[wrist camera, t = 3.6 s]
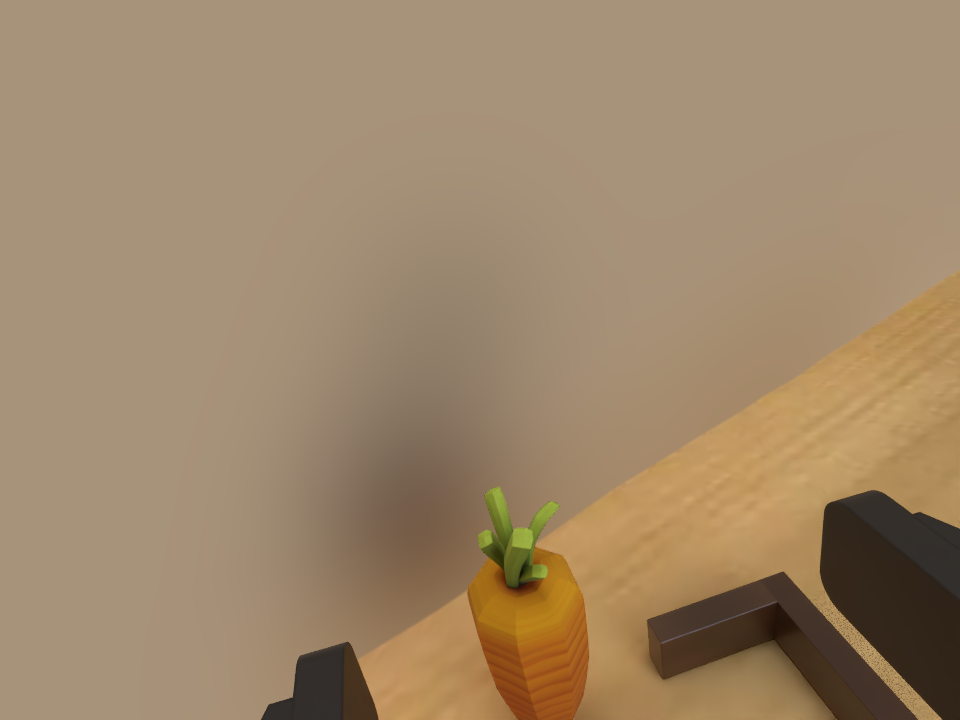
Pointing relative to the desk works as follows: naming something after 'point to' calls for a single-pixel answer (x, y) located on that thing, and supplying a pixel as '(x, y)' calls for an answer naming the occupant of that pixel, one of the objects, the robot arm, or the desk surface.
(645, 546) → the desk surface
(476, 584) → the carrot
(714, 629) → the corner stop
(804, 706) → the desk surface
